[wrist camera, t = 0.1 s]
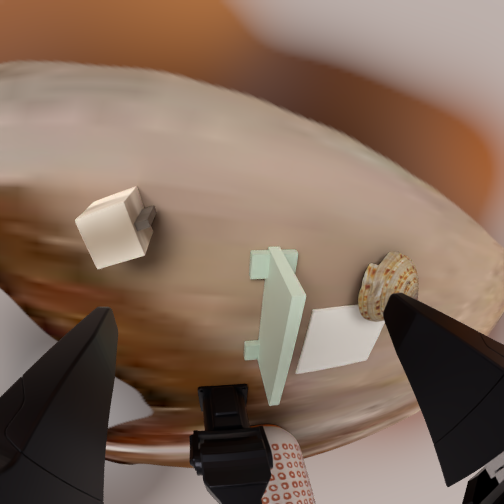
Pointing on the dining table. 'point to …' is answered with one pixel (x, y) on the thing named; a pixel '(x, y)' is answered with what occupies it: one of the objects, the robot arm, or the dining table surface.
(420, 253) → the dining table surface
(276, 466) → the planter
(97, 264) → the small beige block
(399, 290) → the seashell
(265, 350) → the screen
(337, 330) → the tile
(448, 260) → the dining table surface
